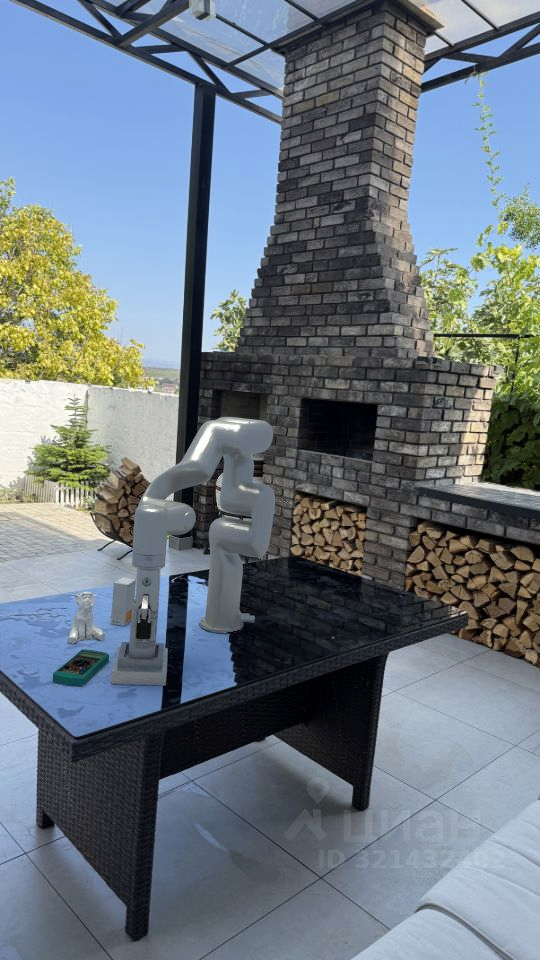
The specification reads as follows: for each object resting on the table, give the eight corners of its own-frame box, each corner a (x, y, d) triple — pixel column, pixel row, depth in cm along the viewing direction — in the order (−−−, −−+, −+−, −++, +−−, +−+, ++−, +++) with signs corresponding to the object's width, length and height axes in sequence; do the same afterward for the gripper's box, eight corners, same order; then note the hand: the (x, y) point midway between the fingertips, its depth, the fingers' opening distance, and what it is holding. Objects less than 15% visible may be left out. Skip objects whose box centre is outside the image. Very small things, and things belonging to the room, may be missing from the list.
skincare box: (124, 626, 175) (127, 584, 173) (110, 624, 175) (113, 582, 174) (133, 619, 180) (136, 579, 179) (119, 617, 181) (122, 576, 180)
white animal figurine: (68, 645, 159) (71, 599, 157) (60, 633, 166) (62, 588, 164) (105, 640, 164) (108, 595, 162) (95, 629, 171) (98, 586, 170)
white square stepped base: (166, 659, 155) (168, 640, 155) (165, 685, 142) (167, 664, 141) (117, 658, 154) (118, 638, 153) (110, 684, 140) (112, 662, 139)
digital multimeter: (50, 684, 138) (51, 671, 138) (81, 658, 153) (81, 646, 152) (81, 689, 137) (82, 676, 137) (109, 663, 152) (110, 651, 151)
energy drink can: (152, 653, 151) (157, 592, 149) (156, 663, 146) (161, 600, 144) (127, 653, 149) (131, 592, 147) (129, 664, 144) (134, 601, 142)
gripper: (164, 570, 137) (159, 646, 139) (166, 550, 154) (161, 617, 156) (129, 569, 135) (124, 645, 138) (134, 548, 152) (130, 616, 155)
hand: (144, 630), depth 147 cm, fingers open, 9 cm apart
